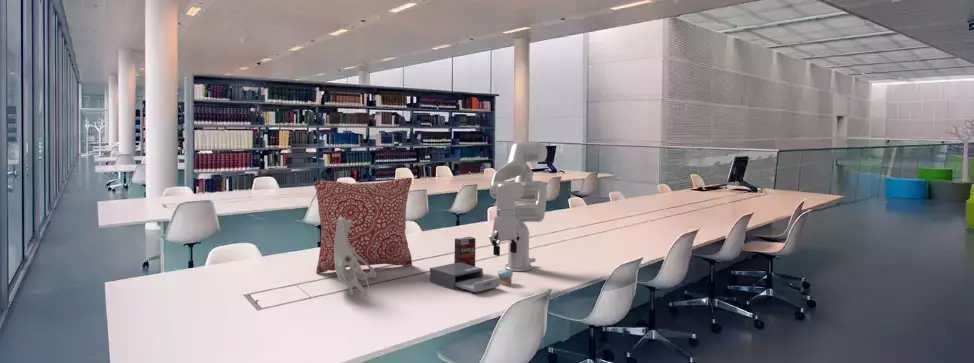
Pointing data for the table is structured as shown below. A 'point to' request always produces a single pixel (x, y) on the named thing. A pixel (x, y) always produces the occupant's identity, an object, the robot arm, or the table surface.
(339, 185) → the pillow
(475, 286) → the tray
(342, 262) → the sculpture
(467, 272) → the box
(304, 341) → the table surface
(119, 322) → the table surface
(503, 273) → the dome with round knob
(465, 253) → the supplement box
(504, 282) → the tan cube
